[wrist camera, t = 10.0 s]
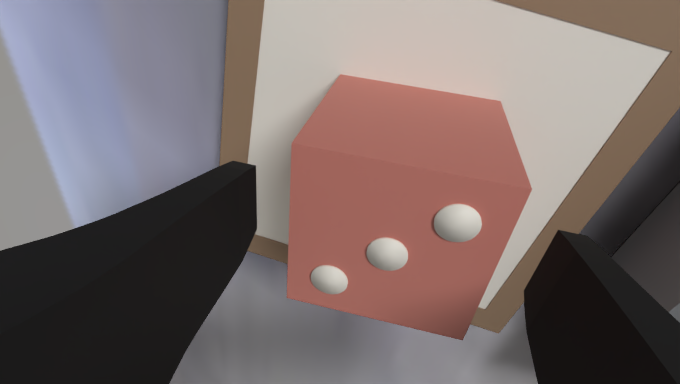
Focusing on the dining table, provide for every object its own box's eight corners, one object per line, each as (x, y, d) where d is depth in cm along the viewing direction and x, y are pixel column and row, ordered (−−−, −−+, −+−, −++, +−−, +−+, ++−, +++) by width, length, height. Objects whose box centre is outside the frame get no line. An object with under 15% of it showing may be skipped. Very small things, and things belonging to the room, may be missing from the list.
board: (727, 12, 9) (750, 19, 9) (496, 316, 16) (498, 333, 16) (250, -124, 10) (235, -127, 9) (224, 227, 17) (215, 240, 16)
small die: (500, 101, 11) (532, 191, 7) (456, 227, 13) (462, 342, 9) (340, 74, 11) (290, 144, 7) (327, 200, 14) (285, 299, 10)
